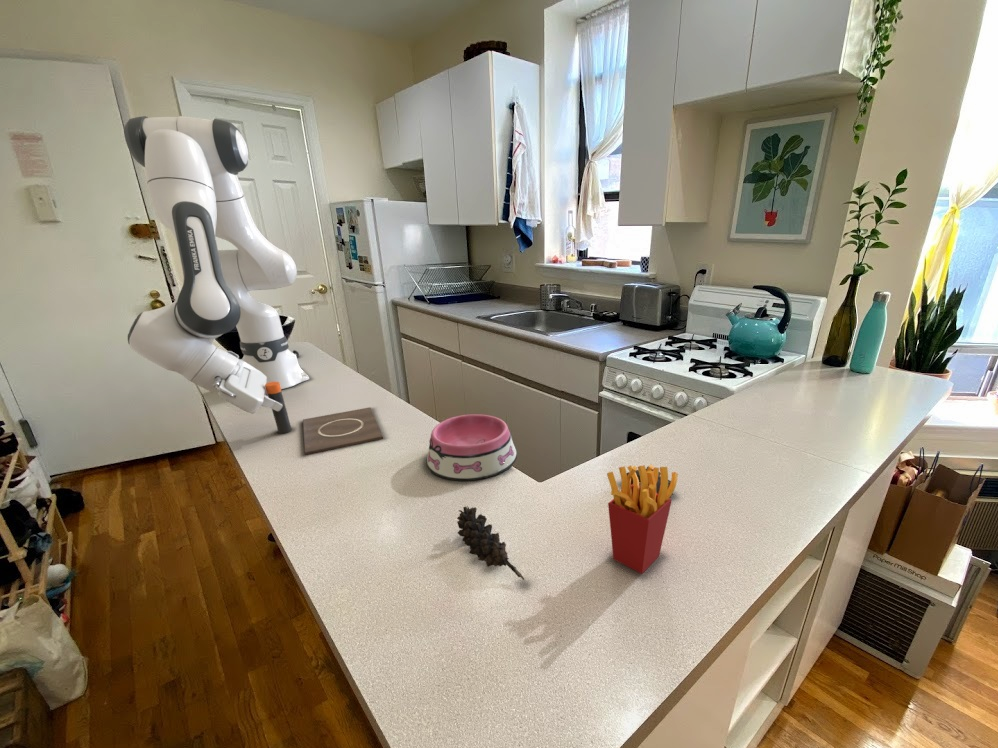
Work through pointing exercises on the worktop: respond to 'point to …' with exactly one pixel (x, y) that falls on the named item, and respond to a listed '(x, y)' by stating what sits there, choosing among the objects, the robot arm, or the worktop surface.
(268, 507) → the worktop surface
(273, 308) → the robot arm
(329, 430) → the drawing board
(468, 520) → the pine cone
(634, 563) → the french fries
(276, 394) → the marker
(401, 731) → the worktop surface
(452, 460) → the dog bowl
